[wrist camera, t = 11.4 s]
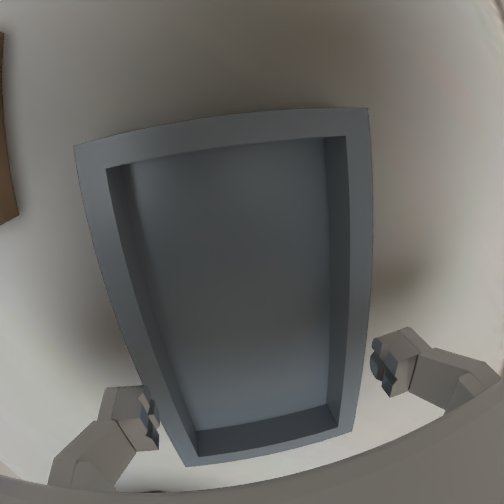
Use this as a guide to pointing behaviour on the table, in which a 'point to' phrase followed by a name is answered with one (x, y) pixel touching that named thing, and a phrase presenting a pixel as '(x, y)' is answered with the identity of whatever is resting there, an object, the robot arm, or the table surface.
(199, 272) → the slate tray
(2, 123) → the walnut block
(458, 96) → the table surface
